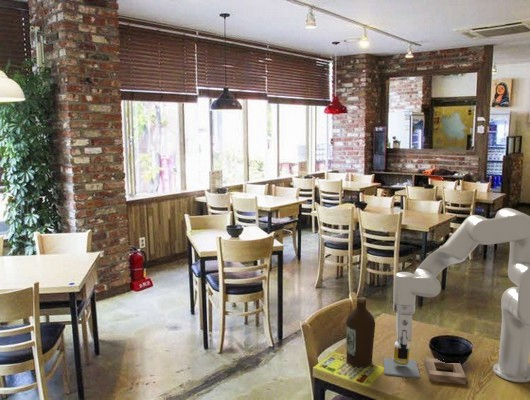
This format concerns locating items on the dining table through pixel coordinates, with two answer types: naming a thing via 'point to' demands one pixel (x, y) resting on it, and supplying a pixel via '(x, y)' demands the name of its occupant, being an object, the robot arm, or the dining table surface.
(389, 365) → the slate coaster
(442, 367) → the frame
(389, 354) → the dining table surface
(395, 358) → the supplement bottle
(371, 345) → the olive oil
